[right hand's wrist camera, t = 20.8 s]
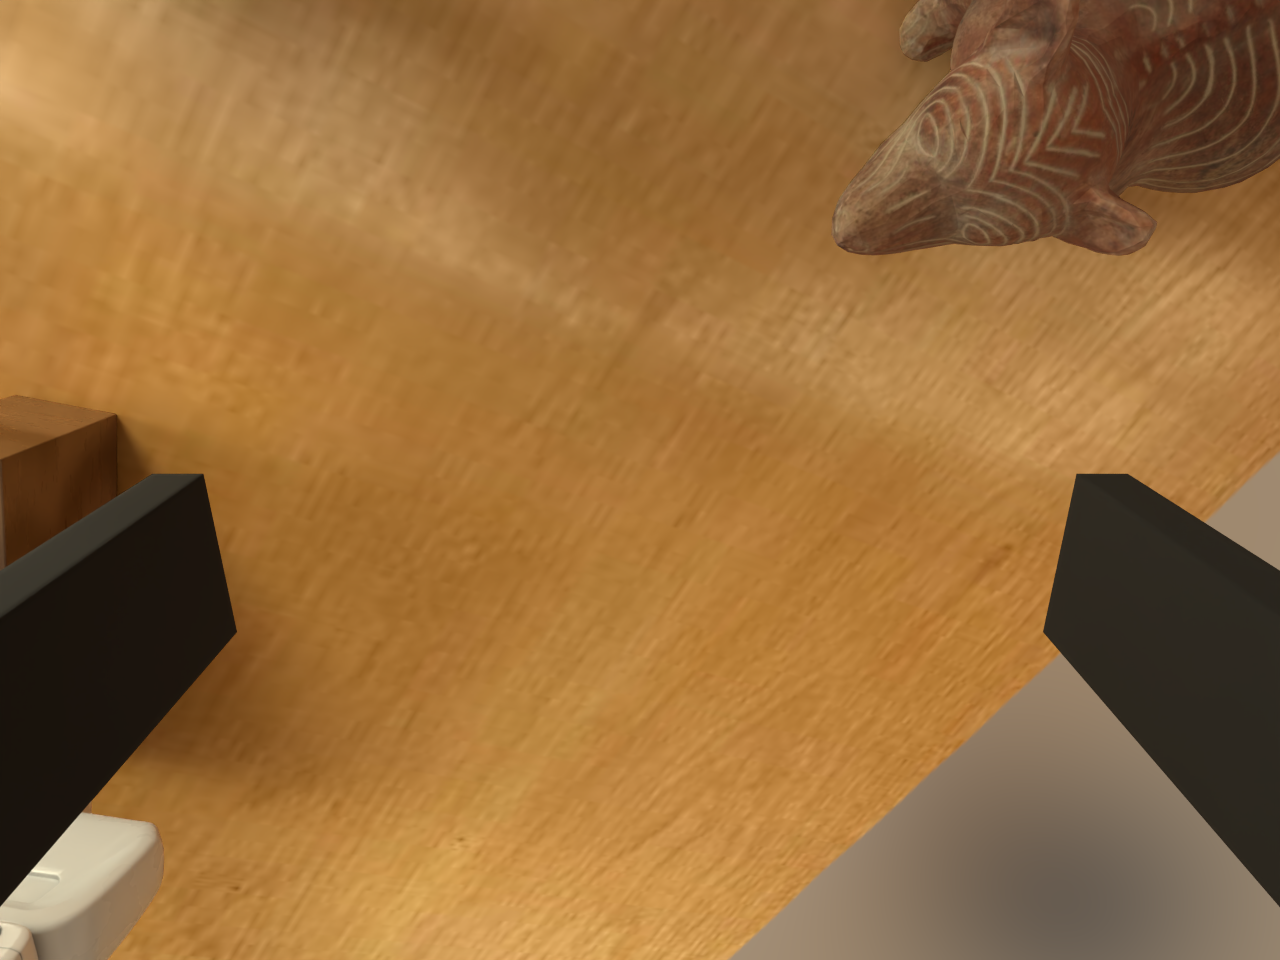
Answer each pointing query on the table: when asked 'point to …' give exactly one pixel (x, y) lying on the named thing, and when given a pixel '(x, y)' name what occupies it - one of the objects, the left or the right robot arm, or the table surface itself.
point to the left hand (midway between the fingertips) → (35, 755)
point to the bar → (51, 470)
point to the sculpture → (1067, 121)
